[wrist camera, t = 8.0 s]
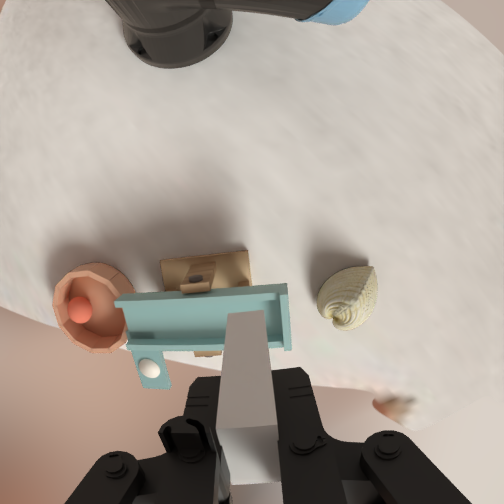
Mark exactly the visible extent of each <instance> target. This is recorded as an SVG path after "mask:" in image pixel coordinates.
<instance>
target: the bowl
mask: <svg viewBox="0 0 504 504" xmlns="http://www.w3.org/2000/svg"><path fill="white" fill-rule="evenodd" d="M127 293H136V292H135V290H134V288H133V286H132V284H131V283H130V281H129V280H128V279H127V278H126V277H125V276H124V275H123V274H122V273H121V272H120V271H118V270H117V269H116V268H114V267H112V266H110V265H107V264H104V263H97V262H96V263H88V264H84V265H80V266H78V267H77V268H75V269H73V270H72V271H70V272H69V273H67V274H66V275H65V277H64V278H63V279H62V280H61V281H60V282H59V283H58V284H57V285H56V286H55V292H54V298H53V304H52V306H53V309H54V312H55V316H56V319H57V322H58V325H59V327H60V328H61V329H62V331H63V332H64V333H65V334H66V335H67V337H68V338H69V339H70V340H71V341H72V343H74V344H76V345H77V346H79V347H81V348H83V349H85V350H87V351H89V352H91V353H112V352H113V351H115V350H116V349H118V348H119V347H120V346H122V345H123V344H124V343H126V341H127V340H128V338H127V335H126V331H127V330H128V327H127V323H126V319H125V316H124V312H123V308H115V304H114V301H115V300H116V299H117V298H119V297H120V296H121V295H122V294H127ZM75 297H84V298H86V299H87V300H88V301H89V302H90V303H91V305H92V310H93V311H92V316H91V318H90V319H89V320H88V321H87V322H85V323H76V322H74V321H73V320H72V319H71V318H70V317H69V315H68V311H67V307H68V304H69V302H70V301H71V300H72V299H73V298H75Z"/></svg>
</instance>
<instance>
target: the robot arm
mask: <svg viewBox="0 0 504 504" xmlns="http://www.w3.org/2000/svg"><path fill="white" fill-rule="evenodd" d="M105 1H106V2H107V3H108V4H109V5H110V6H111V7H112V8H113V9H114V10H115V12H116V13H117V14H118V15H119V16H120V17H121V18H122V19H123V31H124V37H125V40H126V43H127V45H128V47H129V48H130V49H131V51H132V52H133V53H134V54H135V55H136V56H137V57H138V58H139V59H140V60H142V61H143V62H145V63H147V64H149V65H151V66H155V67H159V68H169V69H170V68H181V67H186V66H190V65H193V64H195V63H198V62H200V61H202V60H204V59H206V58H207V57H209V56H210V55H212V54H213V53H214V52H216V51H217V50H218V49H219V48H220V47H221V46H222V44H223V43H224V42H225V40H226V39H227V37H228V35H229V33H230V31H231V27H232V22H233V16H232V11H243V12H252V13H261V14H269V15H276V16H282V17H289V18H294V19H295V20H296V21H299V22H309V21H311V22H317V23H322V24H327V25H339V24H342V23H347V22H349V21H350V20H352V19H353V18H355V17H356V16H357V15H358V14H359V13H360V12H361V11H362V10H363V8H364V7H365V6H366V4H367V3H368V1H369V0H105ZM187 397H188V399H187V401H186V408H185V410H184V414H183V416H178V417H175V418H173V419H170V420H168V421H167V422H166V423H164V424H163V425H162V426H161V428H160V430H159V431H158V434H159V436H160V438H161V441H162V443H163V445H164V447H165V450H166V453H164V454H162V455H160V456H156V457H153V458H147V459H142V460H136V459H135V457H134V456H133V455H131V454H129V453H127V452H122V451H115V452H109V453H107V454H105V455H103V456H101V457H100V458H99V459H98V460H97V461H96V462H95V464H94V465H93V466H92V468H91V469H90V471H89V472H88V473H87V474H86V476H85V477H84V479H83V480H82V481H81V482H80V484H79V485H78V486H77V488H76V489H75V490H74V492H73V493H72V495H71V496H70V497H69V498H68V500H67V501H66V502H65V504H232V496H231V493H230V479H231V483H232V485H237V484H256V483H268V482H279V481H281V483H282V493H283V503H284V504H472V503H471V502H470V501H469V500H468V499H467V498H466V497H465V496H464V495H463V494H462V493H461V492H460V491H459V490H458V489H457V488H456V487H455V486H454V485H453V484H452V483H451V481H450V480H449V479H448V478H447V477H445V475H444V474H443V473H442V472H441V471H440V470H439V469H438V468H437V467H436V466H435V465H434V464H433V463H432V462H431V460H430V459H428V458H427V457H426V455H425V454H424V453H423V452H422V451H421V450H420V449H419V448H418V447H417V446H416V445H415V444H414V443H413V441H412V440H410V438H409V437H407V436H406V435H404V434H403V433H400V432H397V431H381V432H377V433H374V434H373V435H372V436H370V437H368V438H367V440H366V441H365V442H364V443H357V442H344V441H340V440H337V439H334V438H332V437H331V436H329V435H328V434H327V433H326V432H325V431H324V428H323V426H322V422H321V419H320V415H319V412H318V408H317V405H316V401H315V397H314V393H313V390H312V387H311V382H310V379H309V375H308V374H307V373H306V372H305V371H304V370H303V369H302V368H301V367H296V368H288V369H280V370H271V365H270V357H269V348H268V340H267V332H266V323H265V315H264V310H257V311H247V312H237V313H228V317H227V326H226V335H225V344H224V353H223V362H222V372H221V376H211V377H198V378H197V379H196V380H195V381H194V382H193V383H192V384H191V386H190V387H189V392H188V396H187Z"/></svg>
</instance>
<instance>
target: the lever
mask: <svg viewBox="0 0 504 504" xmlns="http://www.w3.org/2000/svg"><path fill="white" fill-rule="evenodd" d="M114 304H115V308H123V312H124V316H125V319H126V323H127V327H128V330H127V331H126V335H127V338H128V343H127V344H126V347H127V350H131V352H132V355H133V358H134V361H135V365H136V368H137V371H138V374H139V377H140V380H141V383H142V386H143V388H153V389H170V388H171V382H170V379H169V375H168V371H167V368H166V364H165V360H164V357H163V353H162V351H219V350H224V344H225V335H226V326H227V317H228V313H237V312H247V311H257V310H264V315H265V323H266V332H267V340H268V348H280V347H284V351H290V350H292V345H291V328H290V314H289V301H288V288H287V283H283V284H270V285H258V286H245V287H231V288H216V289H211V290H210V291H205V292H195V293H185V294H182V292H181V291H167V292H148V293H127V294H122V295H121V296H120V297H119V298H117V299H116V300H115V301H114Z"/></svg>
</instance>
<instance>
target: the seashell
mask: <svg viewBox="0 0 504 504" xmlns="http://www.w3.org/2000/svg"><path fill="white" fill-rule="evenodd" d="M377 291H378V287H377V278H376V274H375V270H374V267H373V266H362V267H351V268H347V269H344V270H342V271H339V272H337V273H335V274H334V275H333V276H331V277H330V278H329V279H328V280H327V281H326V282H325V283H324V284H323V286H322V287H321V289H320V291H319V293H318V297H317V308H318V311H319V313H320V314H321V315H322V316H323V317H324V318H326V319H331V318H333V325H334V327H336V328H337V329H339V330H343V331H347V330H352V329H354V328H356V327H358V326H360V325H361V324H363V323H364V322H365V321H366V320H367V318H368V317H369V316H370V314H371V313H372V311H373V309H374V306H375V303H376V299H377Z"/></svg>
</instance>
